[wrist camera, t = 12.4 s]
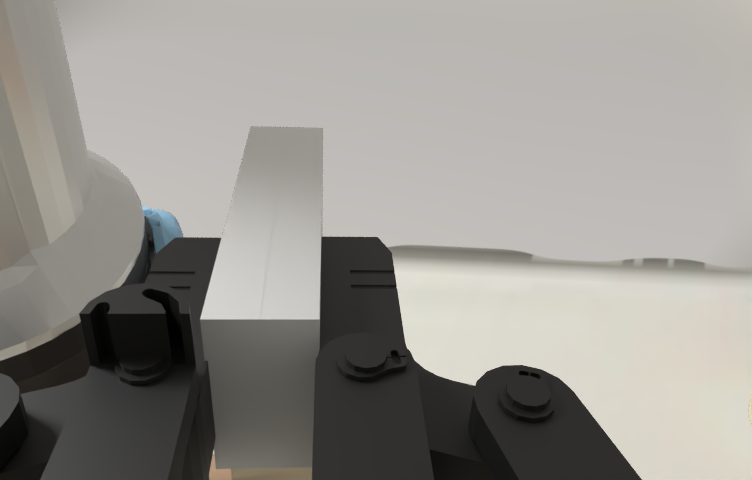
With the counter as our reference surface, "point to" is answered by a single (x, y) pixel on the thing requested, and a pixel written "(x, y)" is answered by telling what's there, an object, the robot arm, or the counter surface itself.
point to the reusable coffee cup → (750, 409)
